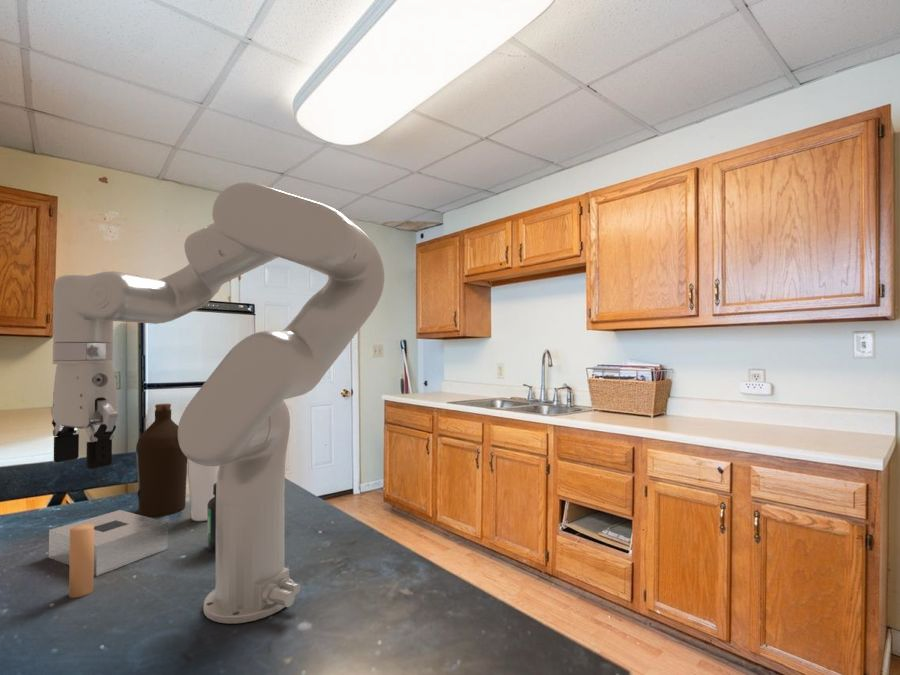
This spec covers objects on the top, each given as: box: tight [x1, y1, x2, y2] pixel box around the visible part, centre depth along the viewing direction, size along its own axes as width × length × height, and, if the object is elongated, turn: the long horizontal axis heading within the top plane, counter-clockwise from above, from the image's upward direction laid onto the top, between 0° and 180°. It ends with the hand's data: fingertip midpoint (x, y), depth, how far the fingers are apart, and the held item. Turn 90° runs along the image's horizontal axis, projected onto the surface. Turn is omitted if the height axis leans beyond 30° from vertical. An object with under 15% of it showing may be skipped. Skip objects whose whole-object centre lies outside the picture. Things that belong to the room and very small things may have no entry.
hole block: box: [48, 509, 169, 577], centre depth 88 cm, size 16×12×5 cm
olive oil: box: [135, 403, 188, 518], centre depth 112 cm, size 11×11×25 cm
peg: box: [68, 524, 95, 599], centre depth 74 cm, size 3×3×10 cm
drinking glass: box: [187, 459, 219, 522], centre depth 106 cm, size 7×7×15 cm
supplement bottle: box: [206, 483, 216, 553], centre depth 91 cm, size 7×7×12 cm
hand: (82, 463), depth 74 cm, fingers open, 9 cm apart
